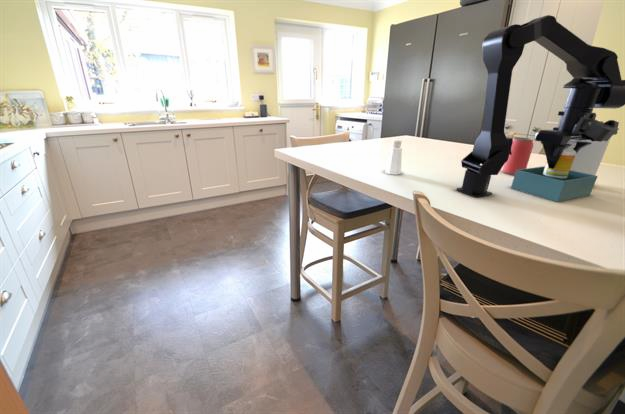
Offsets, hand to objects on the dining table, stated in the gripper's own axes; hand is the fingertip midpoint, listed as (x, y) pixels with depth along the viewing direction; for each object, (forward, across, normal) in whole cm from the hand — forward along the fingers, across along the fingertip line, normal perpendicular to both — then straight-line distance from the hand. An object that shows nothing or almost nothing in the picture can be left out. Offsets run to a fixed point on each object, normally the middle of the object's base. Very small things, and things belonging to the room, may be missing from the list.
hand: (557, 167), depth 78 cm
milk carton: (+7, +17, +2) cm, 19 cm away
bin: (+7, 0, 0) cm, 7 cm away
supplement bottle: (+3, 0, 0) cm, 3 cm away
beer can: (+7, +10, +17) cm, 21 cm away
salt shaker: (+7, -30, +32) cm, 44 cm away
